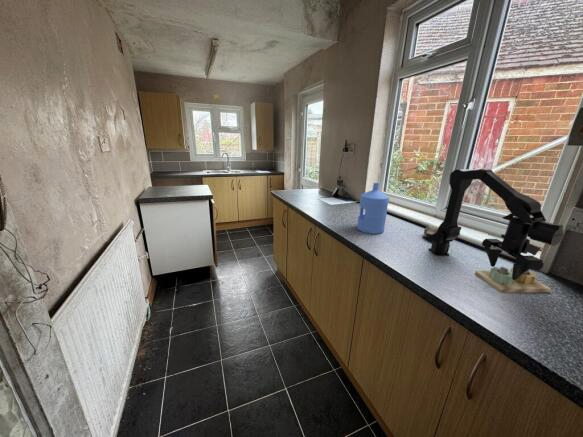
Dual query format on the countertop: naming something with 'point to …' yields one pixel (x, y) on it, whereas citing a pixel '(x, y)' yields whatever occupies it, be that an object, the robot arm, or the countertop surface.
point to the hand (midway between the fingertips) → (502, 272)
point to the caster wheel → (429, 231)
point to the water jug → (373, 211)
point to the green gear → (501, 276)
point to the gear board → (513, 286)
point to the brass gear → (526, 278)
